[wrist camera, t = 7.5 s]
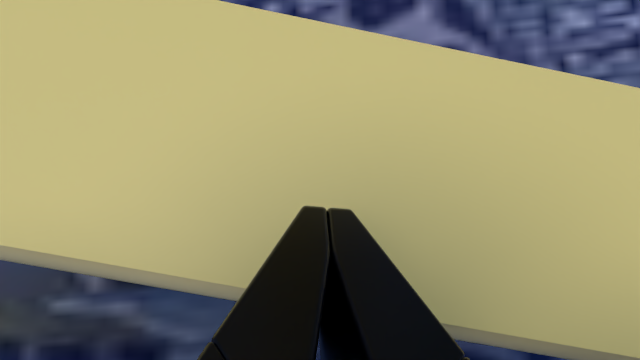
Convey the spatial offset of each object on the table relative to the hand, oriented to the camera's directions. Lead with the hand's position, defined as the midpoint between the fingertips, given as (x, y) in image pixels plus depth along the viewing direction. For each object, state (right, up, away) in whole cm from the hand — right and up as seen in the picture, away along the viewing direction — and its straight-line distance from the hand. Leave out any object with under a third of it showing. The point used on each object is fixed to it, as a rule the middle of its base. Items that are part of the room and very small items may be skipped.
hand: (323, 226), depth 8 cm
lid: (0, +1, +4) cm, 5 cm away
